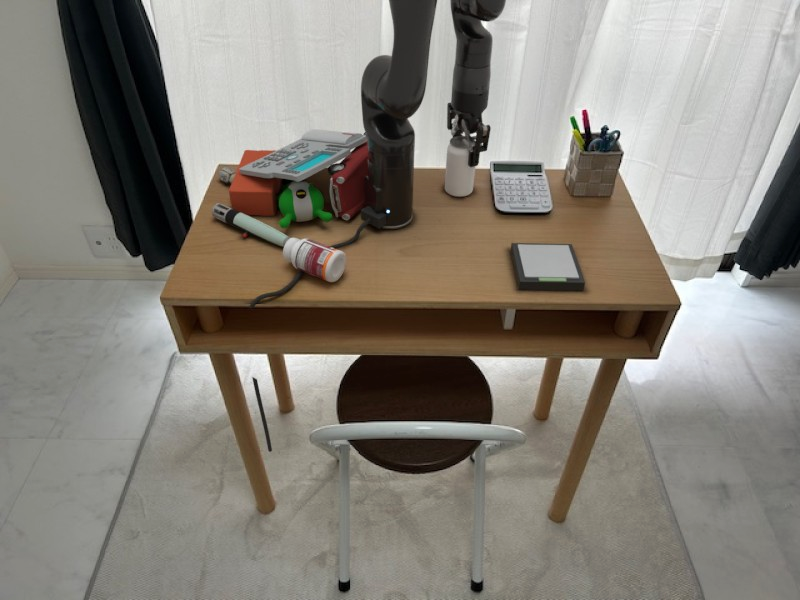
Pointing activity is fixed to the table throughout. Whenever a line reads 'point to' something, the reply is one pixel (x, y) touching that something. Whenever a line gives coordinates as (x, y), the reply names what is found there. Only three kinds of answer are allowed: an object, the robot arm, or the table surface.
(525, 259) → the scale
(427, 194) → the table surface
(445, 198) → the table surface
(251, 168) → the office telephone
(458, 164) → the can
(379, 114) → the robot arm
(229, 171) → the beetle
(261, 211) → the brick
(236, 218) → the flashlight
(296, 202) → the toy
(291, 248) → the pill bottle
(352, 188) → the toy car
